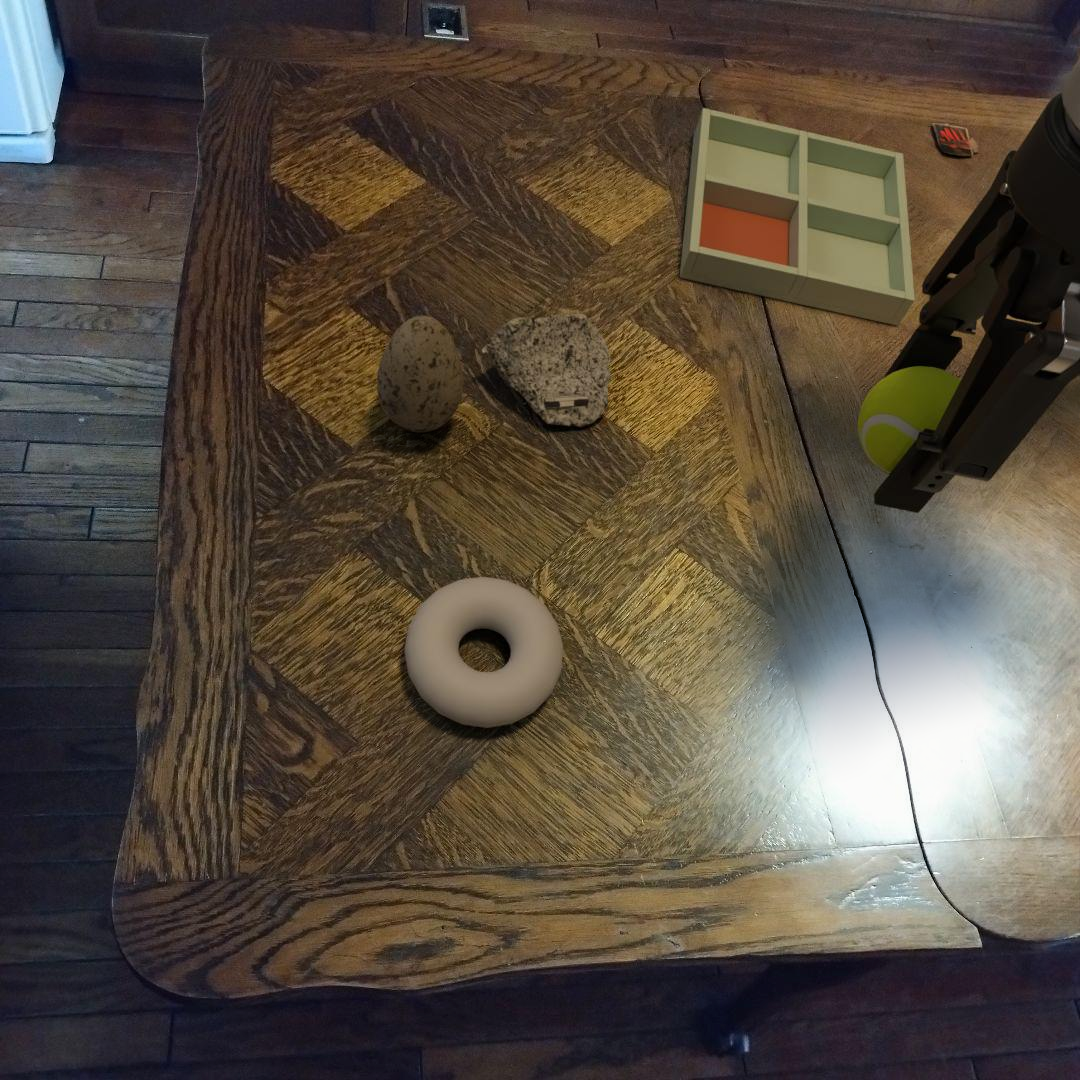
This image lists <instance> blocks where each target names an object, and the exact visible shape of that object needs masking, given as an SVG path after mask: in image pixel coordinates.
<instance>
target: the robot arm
mask: <svg viewBox="0 0 1080 1080" xmlns="http://www.w3.org/2000/svg"><path fill="white" fill-rule="evenodd" d="M1076 54H1077V57H1078V59H1077V61H1076V62H1075V64H1074V66H1073V67H1072V69H1071V70H1070V72H1069V73H1068V74H1067V76H1066V78H1065V79H1064V81H1063V83H1062V88H1061V92H1060V93H1058V94H1056V95H1055V96H1054V97H1052V98H1051V99H1050V100H1049V101H1048V103H1047V104H1046V105H1045V107H1044V109H1043V110H1042V112H1041V113H1040V115H1039V117H1038V118H1037V120H1036V121H1035V122H1034V124H1033V125H1032V127H1031V129H1030V130H1029V132H1028V134H1027V135H1026V136H1025V137H1024V139H1023V141H1022V142H1021V144H1020V146H1019V147H1018V149H1017V150H1015V149H1012V150H1010V151H1009V152H1008V153H1007V155H1006V156H1005V158H1004V160H1003V162H1002V164H1001V165H1000V168H999V170H998V171H997V174H996V176H995V178H994V180H993V182H992V183H991V185H990V187H989V189H988V190H987V192H986V193H985V195H983V198H981V200H980V201H979V203H978V204H977V206H976V207H975V209H974V210H973V211H972V212H971V214H970V215H969V217H968V218H967V219H966V221H965V222H964V224H962V226H961V228H960V229H959V230H958V232H957V233H956V234H955V236H954V237H953V239H952V240H951V241H950V243H949V244H948V246H947V247H946V248H945V249H944V250H943V252H942V254H941V255H940V257H939V258H938V260H936V262H935V263H934V265H933V266H932V268H931V269H930V270H929V271H928V273H927V274H926V275H925V278H924V280H923V281H922V284H921V288H922V289H921V291H922V294H923V295H926V296H927V295H928V296H929V300H928V301H927V302H926V303H924V305H922V307H921V310H920V311H919V317H918V321H919V326H918V327H916V328H915V330H914V331H913V333H912V335H911V336H910V337H909V339H908V340H907V342H906V343H905V345H904V346H903V348H902V349H901V351H900V352H899V354H898V356H897V357H896V358H895V360H894V362H893V363H892V364H891V366H890V367H889V369H888V370H887V372H886V373H885V374H884V376H883V378H885V377H886V376H888V375H890V374H891V373H893V372H896V371H898V370H901V369H905V368H908V367H915V366H925V367H935V368H939V369H942V370H944V371H946V370H947V369H948V367H950V366H951V363H953V361H954V360H955V358H956V357H957V356H958V354H959V353H960V352H961V351H962V349H963V347H964V346H963V339H962V337H960V336H956V335H952V334H953V333H954V332H956V333H957V332H958V333H962V334H967V335H970V336H975V335H976V334H977V333H976V331H977V326H978V325H977V323H978V321H979V320H980V319H981V321H980V325H981V327H982V329H983V331H984V335H983V337H982V339H981V341H980V343H979V345H978V346H977V349H976V351H975V352H974V355H973V356H972V358H971V360H970V362H969V364H968V366H967V368H966V370H965V372H964V374H963V375H962V378H960V380H961V381H960V383H959V385H958V387H957V389H956V391H955V393H954V395H953V397H952V399H951V401H950V403H949V404H948V406H947V408H946V410H945V412H944V414H943V416H942V418H941V420H940V422H939V424H938V426H937V428H936V430H931V429H926V428H925V429H924V430H923V432H919V434H918V437H917V439H916V441H915V442H914V443H913V444H912V446H911V447H910V448H909V450H908V451H907V452H906V453H905V455H904V456H903V457H902V459H901V460H900V461H899V462H898V464H897V465H896V466H895V467H894V469H893V470H892V471H891V473H890V474H887V476H886V477H885V479H884V480H883V482H882V483H881V484H880V485H879V487H878V488H877V489H876V490H875V492H874V493H873V505H874V506H875V505H876V506H882V507H885V508H890V509H896V510H901V511H905V512H911V513H915V514H919V513H920V512H921V510H923V508H924V507H925V506H926V505H927V504H928V502H930V500H931V499H932V498H933V497H934V496H935V495H936V494H938V493H941V492H942V491H943V490H944V489H945V488H946V487H947V486H948V484H949V483H950V481H951V480H953V479H954V477H955V476H957V477H963V478H968V479H972V480H978V481H982V482H989V481H991V480H992V478H993V477H994V476H995V475H996V473H998V471H999V470H1000V469H1001V468H1002V466H1003V465H1004V464H1005V462H1006V461H1007V460H1008V459H1009V457H1010V456H1011V455H1012V454H1013V452H1015V450H1016V449H1017V448H1018V447H1019V445H1020V444H1021V443H1022V441H1023V440H1024V439H1025V438H1026V436H1027V435H1028V434H1029V433H1030V431H1031V430H1033V428H1034V427H1035V425H1036V424H1037V423H1038V422H1039V421H1040V419H1041V418H1042V416H1043V415H1044V414H1045V413H1046V412H1047V411H1048V410H1049V408H1050V407H1051V405H1052V404H1053V403H1054V402H1055V401H1056V399H1057V398H1058V397H1059V396H1060V394H1062V392H1063V391H1064V389H1065V388H1066V387H1067V386H1068V384H1069V383H1070V382H1072V381H1073V380H1074V379H1076V378H1078V377H1079V376H1080V44H1079V45H1078V47H1077V50H1076ZM950 274H953V275H955V276H954V277H951V276H949V275H950ZM1008 316H1009V317H1011V318H1007V317H1008ZM973 330H974V331H973Z"/></svg>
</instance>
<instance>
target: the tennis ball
mask: <svg viewBox="0 0 1080 1080" xmlns="http://www.w3.org/2000/svg"><path fill="white" fill-rule="evenodd" d="M960 381H961V378H959V377H957V376H956V375H954V374H953V373H951V372H948V371H946V370H945V371H944V370H942V369H939V368H935V367H925V366H915V367H908V368H905V369H901V370H898V371H896V372H893V373H891V374H890V375H888V376H886V377H885V378H884V377H883V378H882V379H880V380H879V381H878V382H877V383H876V384H875V385H874V386H873V387H872V388H871V389H870V391H868V393H867V395H866V396H865V398H864V401H863V402H862V405H861V406H860V409H859V414H858V419H857V432H858V437H859V442H860V443H859V444H860V445H861V448H862V450H863V452H864V453H865V455H866V457H867V458H868V459H869V460H870V462H871V463H872V464H873V465H874V466H875V467H876V468H877V469H879V470H880V471H882V472H883V473H884V474H887V475H889V474H890V473H891V471H892V470H893V469H894V467H895V466H896V465H897V464H898V462H899V461H900V460H901V459H902V457H903V456H904V455H905V453H906V452H907V451H908V450H909V448H910V447H911V446H912V444H913V443H914V442H915V441H916V439H917V437H918V434H919V432H923V430H924V429H925V428H926V429H931V430H936V428H937V426H938V424H939V422H940V420H941V418H942V416H943V414H944V412H945V410H946V408H947V406H948V404H949V403H950V401H951V399H952V397H953V395H954V393H955V391H956V389H957V387H958V385H959V383H960Z"/></svg>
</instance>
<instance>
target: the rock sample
mask: <svg viewBox="0 0 1080 1080" xmlns="http://www.w3.org/2000/svg"><path fill="white" fill-rule="evenodd" d="M530 312H533V310H530ZM616 336H618V335H616ZM486 340H487V341H485V343H486V344H485V345H484V347H483V348H481V352H482V353H483V354H487V355H488V356H489V357H490V359H491V360H490V361H488V362H489V363H491V361H492V362H493V364H494V366H495V370H496V371H497V373H498V374H499V376H500V377H501V378H502V379H504V380H505V381H506V382H507V384H508V385H509V386H510V387H511V388H512V389H513V390H515V391H516V392H519V394H520V395H521V396H522V397H523V398H524V399H525V401H526V402H527V403H526V402H524V405H527V404H528V407H530V408H531V409H532V411H533V412H534V413H535V414H536V415H537V414H538V416H540V418H541V419H542V420H543V421H544V422H545V424H547V425H555V426H563V427H564V426H566V427H577V428H584V427H586V426H587V425H591V424H594V423H595V422H596V421H597V420H598V419H599V418H602V416H604V415H605V414H606V413H607V409H608V406H609V390H608V386H609V384H610V382H611V380H612V379H613V376H612V372H611V371H610V369H609V366H610V364H611V363H612V357H611V356H610V355H611V353H609V352H610V351H612V348H610V349H609V344H608V343H607V342H606V341H605V337H604V335H603V334H602V333H601V332H600V330H599V328H598V327H597V324H595V323H592V322H590V321H589V320H588V318H587V315H586V314H585V313H576V312H574V313H558V314H548V316H544V317H542V316H541V317H536V318H535V317H530V316H519V317H518V316H517V317H515V318H512V319H511V320H509V321H508V322H506V323H504V324H502V325H501V326H500V328H499V329H498V330H496V331H495V333H494V334H493V335H490V337H489V338H488V337H487V338H486ZM489 340H490V341H489ZM488 341H489V344H488ZM609 350H610V351H609Z"/></svg>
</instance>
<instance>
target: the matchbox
mask: <svg viewBox="0 0 1080 1080" xmlns="http://www.w3.org/2000/svg"><path fill="white" fill-rule="evenodd" d="M928 125H929V126H932V127H933V129H934V130H933V131H934V134H935V136H936V138H934V141H937V144H938V145H939V148H940V149H941V151H942V152H943V153H945V154H949V155H956V156H961V157H969V156H974V154H977V153H979V152H980V149H981V147H980V146H979V144H978V143H977V141H976V140H975V139H974V137H970V135H969V129H968V128H967V127H963V126H962V127H961V126H957V125H951V124H949V123H947V122H945V123H938V122H933V123H928V124H927V126H928Z"/></svg>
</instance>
